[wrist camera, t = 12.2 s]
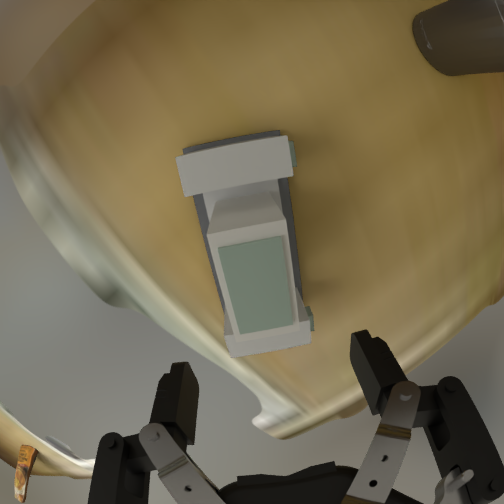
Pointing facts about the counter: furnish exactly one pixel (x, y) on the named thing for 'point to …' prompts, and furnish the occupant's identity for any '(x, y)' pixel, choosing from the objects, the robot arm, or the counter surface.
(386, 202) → the counter surface
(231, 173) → the rail
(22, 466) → the pancake mix bag
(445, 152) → the counter surface
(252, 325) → the block
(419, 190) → the counter surface
